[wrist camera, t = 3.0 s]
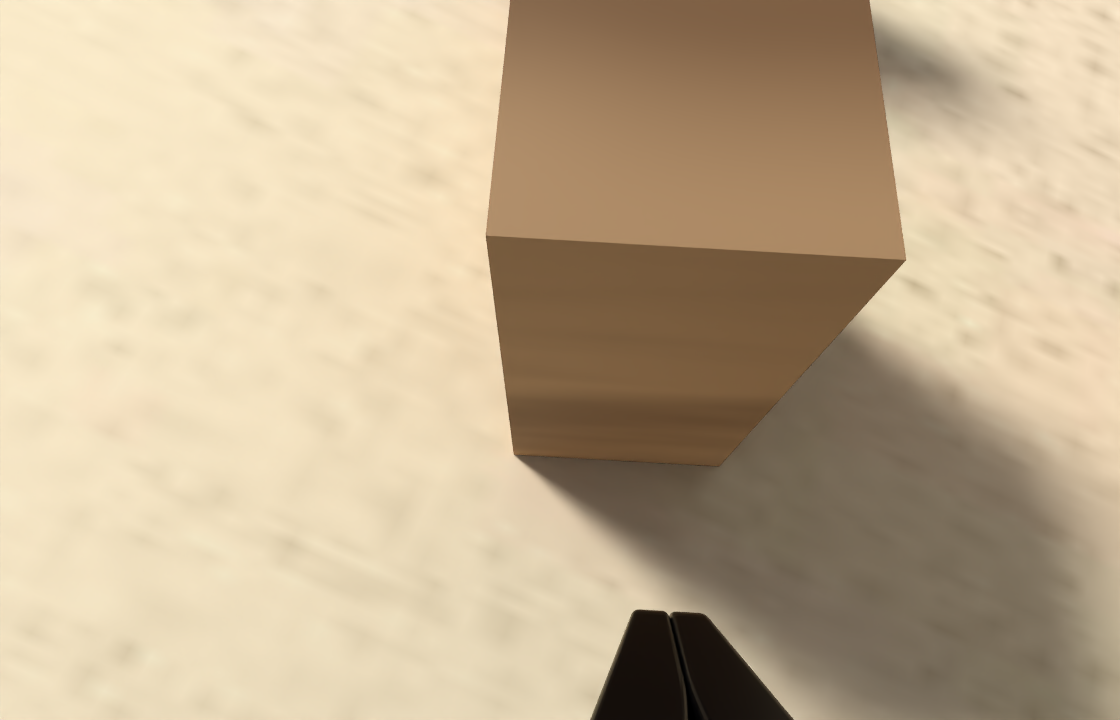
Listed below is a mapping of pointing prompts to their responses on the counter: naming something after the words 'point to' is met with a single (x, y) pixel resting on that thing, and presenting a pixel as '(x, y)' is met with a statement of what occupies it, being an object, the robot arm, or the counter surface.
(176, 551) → the counter surface
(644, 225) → the walnut block
